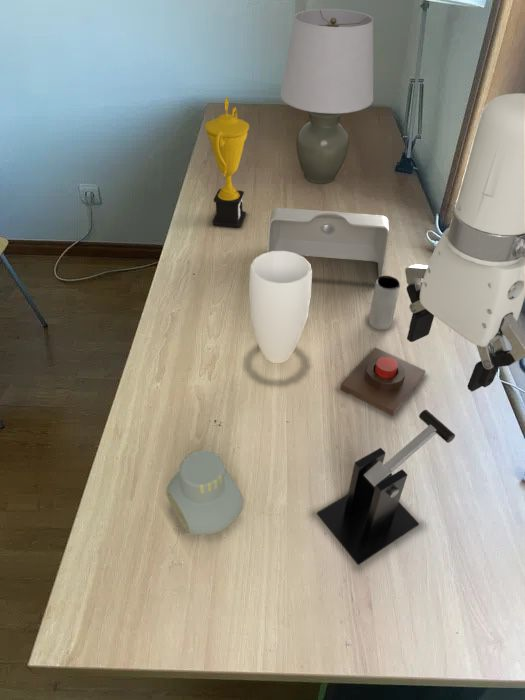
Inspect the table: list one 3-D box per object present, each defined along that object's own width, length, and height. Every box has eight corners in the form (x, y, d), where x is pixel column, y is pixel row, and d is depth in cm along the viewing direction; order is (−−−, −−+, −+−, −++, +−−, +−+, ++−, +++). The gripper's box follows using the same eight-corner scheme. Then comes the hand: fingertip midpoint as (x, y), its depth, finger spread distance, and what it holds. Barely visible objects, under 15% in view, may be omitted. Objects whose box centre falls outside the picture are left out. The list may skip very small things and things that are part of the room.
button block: (373, 356, 105) (376, 339, 102) (422, 379, 100) (427, 363, 98) (339, 392, 98) (342, 376, 95) (391, 420, 93) (396, 403, 90)
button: (381, 361, 98) (382, 353, 97) (399, 370, 97) (401, 362, 96) (371, 372, 96) (372, 365, 95) (390, 381, 95) (391, 374, 93)
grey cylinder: (386, 335, 109) (395, 292, 102) (364, 327, 111) (372, 284, 104) (394, 322, 112) (403, 279, 105) (372, 315, 114) (381, 272, 107)
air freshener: (250, 524, 78) (250, 482, 72) (198, 554, 75) (193, 513, 68) (212, 469, 85) (209, 426, 78) (162, 494, 82) (155, 452, 75)
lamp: (264, 186, 155) (267, 22, 128) (294, 154, 172) (303, 3, 145) (348, 203, 149) (370, 34, 122) (370, 168, 165) (394, 12, 138)
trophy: (240, 244, 133) (239, 115, 113) (200, 240, 134) (192, 111, 114) (255, 206, 147) (256, 84, 127) (219, 202, 148) (214, 81, 128)
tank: (378, 249, 132) (387, 200, 124) (381, 289, 120) (391, 238, 112) (273, 241, 134) (274, 192, 126) (265, 279, 122) (266, 228, 114)
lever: (427, 413, 75) (425, 405, 73) (456, 439, 72) (454, 431, 70) (359, 473, 74) (355, 466, 72) (385, 501, 71) (382, 495, 69)
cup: (256, 391, 97) (257, 290, 83) (241, 352, 105) (240, 253, 90) (312, 381, 100) (323, 280, 85) (294, 343, 107) (302, 245, 93)
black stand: (374, 482, 84) (389, 426, 75) (417, 528, 78) (438, 474, 70) (315, 517, 79) (324, 462, 71) (357, 568, 74) (371, 516, 65)
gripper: (591, 264, 51) (527, 394, 63) (450, 188, 62) (418, 311, 73) (538, 289, 48) (481, 421, 60) (399, 205, 59) (374, 330, 70)
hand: (446, 360), depth 66 cm, fingers open, 9 cm apart
